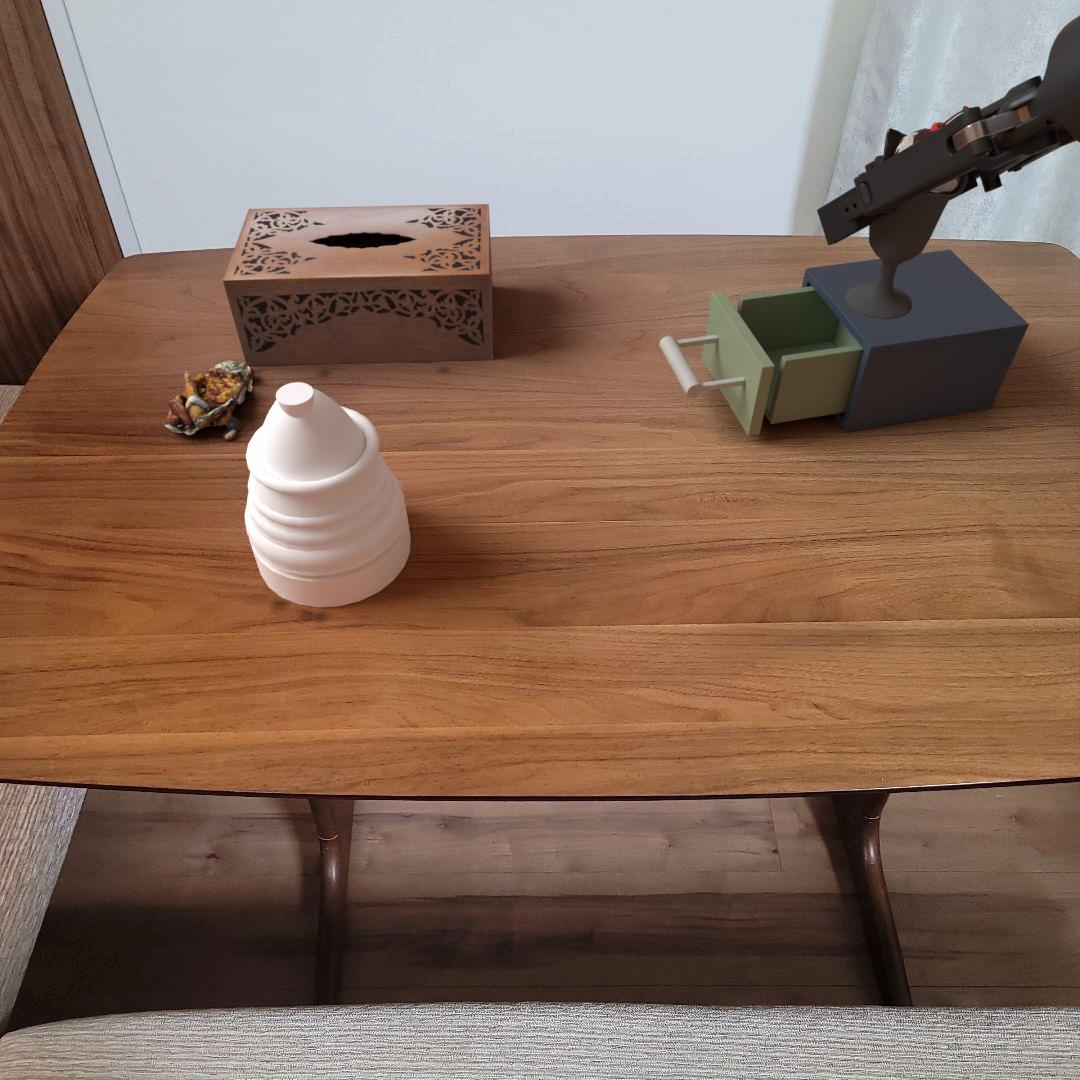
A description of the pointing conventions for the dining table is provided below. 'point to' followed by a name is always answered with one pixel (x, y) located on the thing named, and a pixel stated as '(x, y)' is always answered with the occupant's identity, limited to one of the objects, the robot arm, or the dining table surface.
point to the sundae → (901, 234)
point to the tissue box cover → (363, 284)
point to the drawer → (772, 357)
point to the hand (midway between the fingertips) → (865, 214)
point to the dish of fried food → (210, 399)
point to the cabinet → (923, 341)
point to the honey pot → (323, 502)
